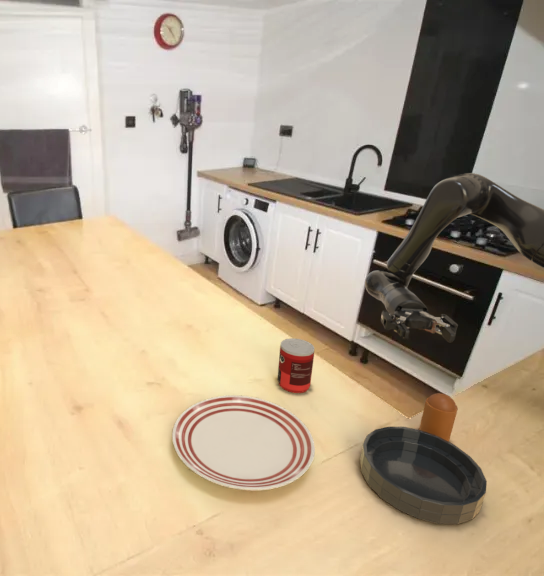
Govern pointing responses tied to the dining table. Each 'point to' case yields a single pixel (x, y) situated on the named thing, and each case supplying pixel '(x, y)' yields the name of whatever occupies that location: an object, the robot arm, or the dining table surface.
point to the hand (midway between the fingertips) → (429, 337)
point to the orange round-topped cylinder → (439, 415)
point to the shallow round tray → (423, 475)
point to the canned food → (295, 365)
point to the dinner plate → (243, 442)
